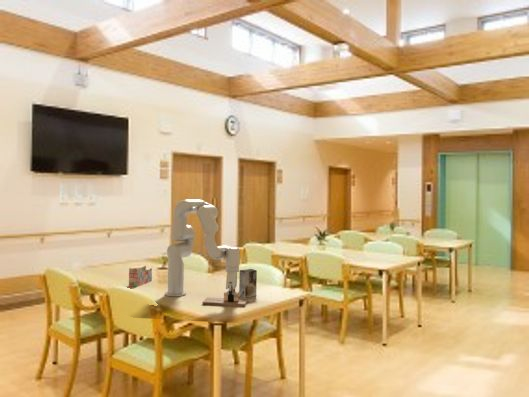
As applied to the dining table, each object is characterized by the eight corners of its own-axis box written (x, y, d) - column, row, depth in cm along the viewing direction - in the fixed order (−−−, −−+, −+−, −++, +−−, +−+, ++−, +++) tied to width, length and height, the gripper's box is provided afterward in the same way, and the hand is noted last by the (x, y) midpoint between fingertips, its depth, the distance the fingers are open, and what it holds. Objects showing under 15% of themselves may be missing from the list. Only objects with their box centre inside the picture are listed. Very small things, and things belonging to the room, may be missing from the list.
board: (207, 299, 275) (207, 297, 275) (247, 301, 273) (247, 299, 273) (202, 304, 263) (202, 302, 263) (244, 306, 261) (244, 304, 261)
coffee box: (249, 294, 293) (250, 268, 293) (256, 296, 289) (257, 270, 288) (238, 296, 287) (239, 269, 287) (245, 298, 283) (245, 271, 282)
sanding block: (225, 299, 271) (225, 290, 271) (239, 300, 270) (239, 291, 270) (223, 301, 266) (223, 292, 266) (237, 302, 265) (237, 293, 265)
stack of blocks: (143, 280, 328) (144, 263, 328) (151, 281, 327) (152, 263, 327) (128, 286, 307) (128, 267, 307) (137, 287, 306) (137, 268, 306)
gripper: (228, 266, 276) (227, 296, 277) (223, 271, 259) (222, 303, 260) (241, 266, 275) (240, 297, 276) (236, 271, 258) (235, 304, 259)
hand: (231, 300), depth 268 cm, fingers closed on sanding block, 5 cm apart
